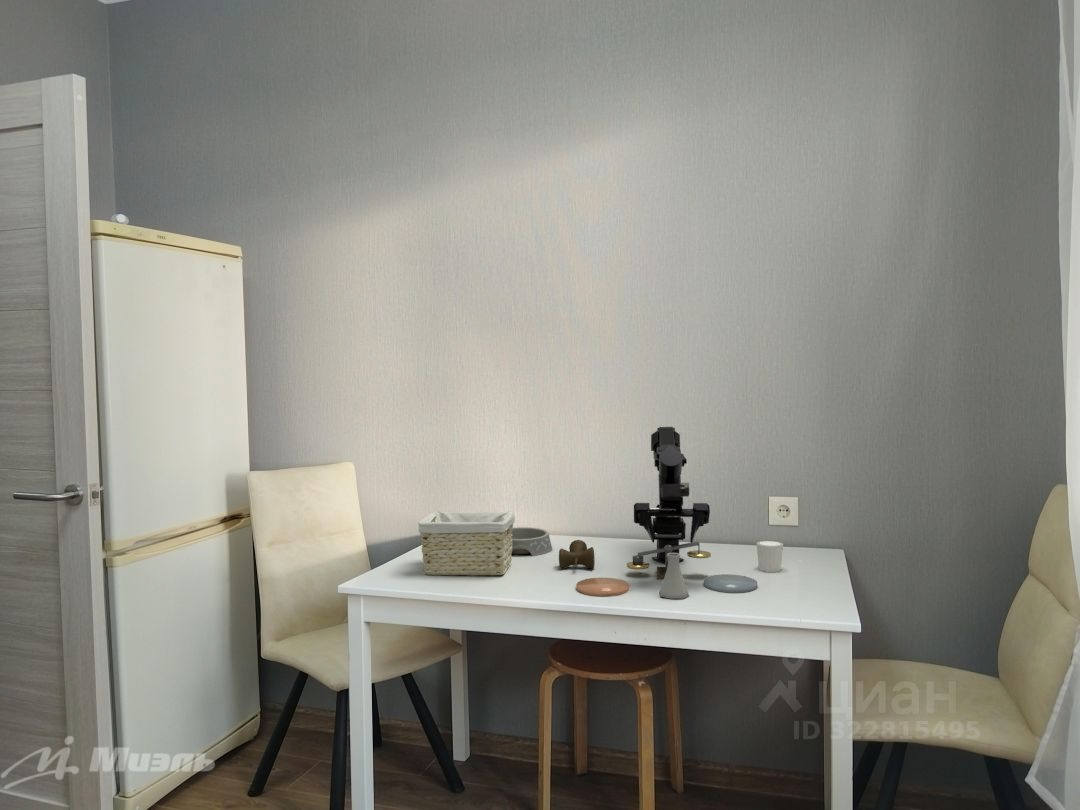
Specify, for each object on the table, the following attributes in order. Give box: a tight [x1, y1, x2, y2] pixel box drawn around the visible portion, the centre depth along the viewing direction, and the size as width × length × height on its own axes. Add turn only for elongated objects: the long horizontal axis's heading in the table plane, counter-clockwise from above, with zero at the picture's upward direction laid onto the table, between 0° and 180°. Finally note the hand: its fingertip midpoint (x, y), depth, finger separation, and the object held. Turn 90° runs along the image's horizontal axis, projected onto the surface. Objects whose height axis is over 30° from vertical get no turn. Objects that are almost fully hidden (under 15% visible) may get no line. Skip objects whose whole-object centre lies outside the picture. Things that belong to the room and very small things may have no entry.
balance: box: [626, 541, 712, 581], centre depth 214 cm, size 22×8×9 cm, turn 81°
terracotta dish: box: [575, 577, 630, 597], centre depth 203 cm, size 13×13×1 cm
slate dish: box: [703, 574, 758, 594], centre depth 205 cm, size 13×13×1 cm
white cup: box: [756, 540, 784, 573], centre depth 219 cm, size 7×7×7 cm
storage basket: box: [418, 510, 516, 577], centre depth 223 cm, size 24×16×15 cm
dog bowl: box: [512, 526, 553, 557], centre depth 245 cm, size 17×18×5 cm
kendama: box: [558, 539, 596, 570], centre depth 227 cm, size 6×10×20 cm
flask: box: [658, 552, 690, 600], centre depth 197 cm, size 7×7×10 cm
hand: (672, 542), depth 202 cm, fingers open, 9 cm apart
